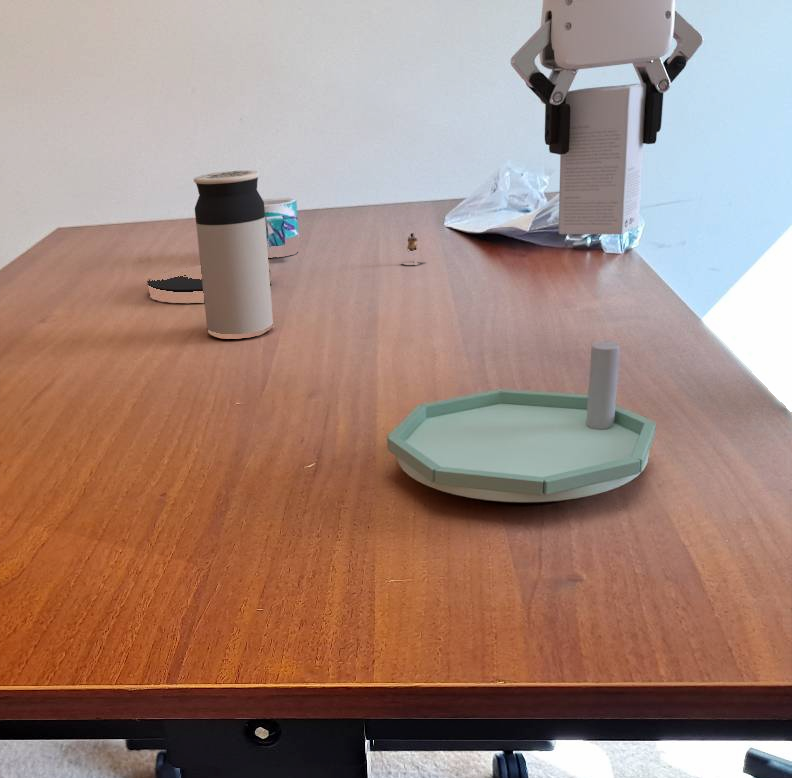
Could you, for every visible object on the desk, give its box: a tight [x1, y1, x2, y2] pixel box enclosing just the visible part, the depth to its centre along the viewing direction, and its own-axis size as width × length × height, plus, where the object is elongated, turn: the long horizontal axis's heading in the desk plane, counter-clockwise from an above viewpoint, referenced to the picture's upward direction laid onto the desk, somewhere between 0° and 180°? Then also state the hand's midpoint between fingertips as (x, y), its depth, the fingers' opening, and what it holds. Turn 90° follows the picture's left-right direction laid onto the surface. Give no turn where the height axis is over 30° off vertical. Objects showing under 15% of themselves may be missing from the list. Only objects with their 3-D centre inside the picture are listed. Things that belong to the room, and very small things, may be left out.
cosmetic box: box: [558, 82, 646, 235], centre depth 86 cm, size 6×4×12 cm
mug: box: [262, 197, 299, 247], centre depth 158 cm, size 8×12×8 cm
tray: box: [386, 341, 657, 502], centre depth 71 cm, size 18×18×7 cm
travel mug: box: [193, 170, 274, 334], centre depth 114 cm, size 8×8×18 cm
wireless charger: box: [146, 269, 271, 292], centre depth 141 cm, size 18×18×2 cm
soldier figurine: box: [406, 232, 418, 251], centre depth 144 cm, size 2×1×4 cm, turn 46°
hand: (601, 146), depth 86 cm, fingers closed on cosmetic box, 7 cm apart
